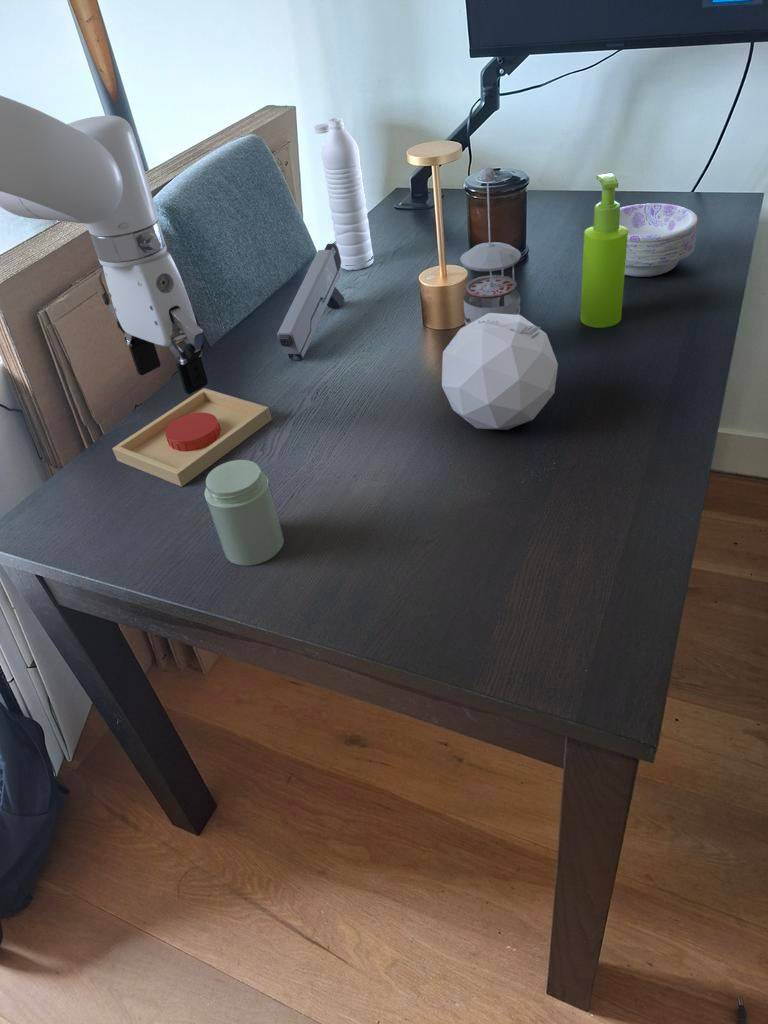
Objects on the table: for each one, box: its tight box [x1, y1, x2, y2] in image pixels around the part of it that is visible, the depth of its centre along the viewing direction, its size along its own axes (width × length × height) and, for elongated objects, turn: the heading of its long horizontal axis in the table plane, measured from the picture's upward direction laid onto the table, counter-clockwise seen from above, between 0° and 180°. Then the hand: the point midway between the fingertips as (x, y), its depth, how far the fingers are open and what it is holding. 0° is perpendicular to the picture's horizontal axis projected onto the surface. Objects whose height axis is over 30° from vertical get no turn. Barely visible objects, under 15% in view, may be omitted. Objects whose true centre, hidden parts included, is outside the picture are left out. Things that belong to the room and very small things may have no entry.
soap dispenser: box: [579, 173, 628, 329], centre depth 108 cm, size 6×7×20 cm
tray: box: [111, 387, 273, 488], centre depth 100 cm, size 17×13×2 cm
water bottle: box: [313, 117, 374, 271], centre depth 134 cm, size 9×6×25 cm
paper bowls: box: [619, 203, 699, 278], centre depth 124 cm, size 15×15×8 cm
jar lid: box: [165, 412, 221, 451], centre depth 100 cm, size 7×7×2 cm
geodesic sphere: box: [441, 313, 559, 431], centre depth 91 cm, size 15×14×14 cm
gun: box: [276, 243, 345, 361], centre depth 121 cm, size 2×25×10 cm, turn 164°
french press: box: [459, 167, 522, 326], centre depth 103 cm, size 10×12×25 cm
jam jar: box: [203, 459, 285, 567], centre depth 79 cm, size 7×7×9 cm
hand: (172, 379), depth 95 cm, fingers open, 9 cm apart
